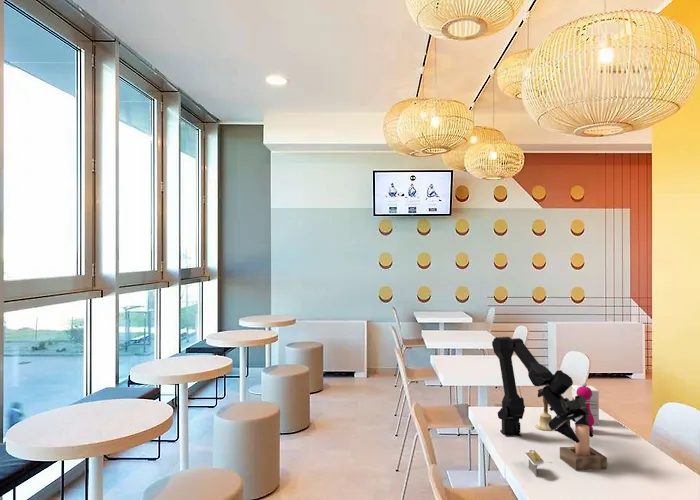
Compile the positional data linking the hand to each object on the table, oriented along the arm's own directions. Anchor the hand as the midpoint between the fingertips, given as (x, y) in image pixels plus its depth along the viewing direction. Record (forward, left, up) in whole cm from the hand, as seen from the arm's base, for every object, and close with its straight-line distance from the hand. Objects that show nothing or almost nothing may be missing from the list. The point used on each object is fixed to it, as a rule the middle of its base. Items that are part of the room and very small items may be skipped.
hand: (585, 439), depth 181 cm
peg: (-1, +1, -9) cm, 9 cm away
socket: (-1, +1, -9) cm, 9 cm away
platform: (-20, -4, -9) cm, 23 cm away
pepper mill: (+19, +34, -9) cm, 40 cm away
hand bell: (+5, +40, -9) cm, 41 cm away
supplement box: (+26, +46, -9) cm, 54 cm away
